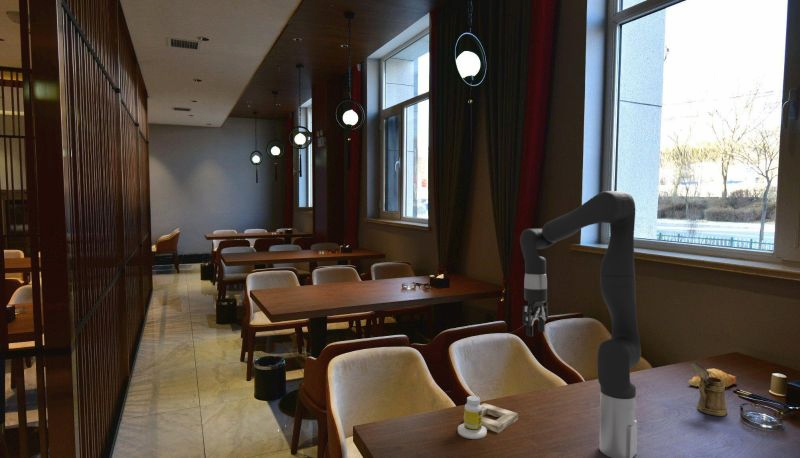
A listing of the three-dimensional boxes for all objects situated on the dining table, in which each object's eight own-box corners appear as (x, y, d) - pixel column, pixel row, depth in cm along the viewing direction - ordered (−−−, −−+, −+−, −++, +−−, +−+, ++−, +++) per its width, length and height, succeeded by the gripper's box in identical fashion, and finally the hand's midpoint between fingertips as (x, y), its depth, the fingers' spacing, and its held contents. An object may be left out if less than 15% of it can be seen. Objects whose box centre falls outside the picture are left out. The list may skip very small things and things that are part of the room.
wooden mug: (681, 409, 169) (682, 358, 168) (708, 404, 173) (710, 354, 173) (705, 420, 160) (707, 366, 160) (733, 414, 165) (735, 362, 164)
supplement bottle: (481, 433, 148) (481, 402, 147) (463, 431, 149) (463, 400, 148) (482, 425, 153) (482, 395, 153) (464, 424, 154) (465, 394, 154)
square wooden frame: (518, 419, 160) (518, 413, 160) (498, 432, 150) (498, 426, 150) (484, 408, 169) (484, 403, 169) (463, 420, 159) (463, 414, 159)
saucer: (492, 431, 151) (492, 428, 151) (476, 441, 145) (476, 438, 145) (467, 423, 157) (467, 420, 157) (452, 432, 150) (452, 429, 150)
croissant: (694, 398, 188) (702, 383, 184) (677, 378, 197) (684, 364, 193) (741, 393, 192) (749, 379, 188) (722, 374, 200) (730, 360, 196)
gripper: (536, 290, 157) (536, 339, 157) (555, 285, 167) (555, 332, 168) (515, 288, 162) (515, 336, 162) (535, 283, 172) (535, 329, 173)
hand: (535, 334), depth 165 cm, fingers open, 8 cm apart
